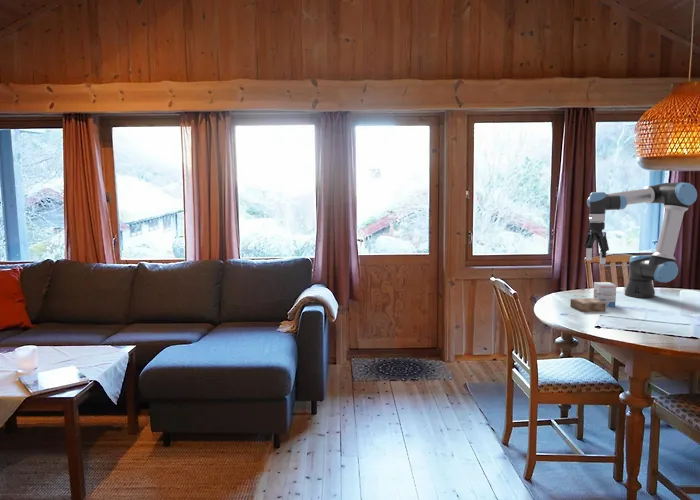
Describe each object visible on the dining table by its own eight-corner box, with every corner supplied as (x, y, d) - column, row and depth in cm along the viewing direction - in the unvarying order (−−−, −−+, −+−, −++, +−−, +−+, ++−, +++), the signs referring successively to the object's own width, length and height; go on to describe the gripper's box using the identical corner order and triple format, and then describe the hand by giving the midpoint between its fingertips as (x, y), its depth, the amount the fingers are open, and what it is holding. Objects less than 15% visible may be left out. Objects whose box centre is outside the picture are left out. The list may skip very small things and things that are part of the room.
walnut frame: (592, 305, 272) (592, 297, 271) (605, 311, 260) (605, 302, 259) (570, 306, 271) (570, 298, 270) (582, 311, 259) (582, 303, 258)
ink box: (609, 303, 277) (610, 281, 276) (615, 306, 269) (616, 284, 267) (592, 303, 278) (593, 281, 277) (598, 306, 270) (599, 284, 268)
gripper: (578, 220, 282) (576, 259, 285) (602, 223, 257) (601, 265, 260) (591, 220, 282) (590, 258, 285) (617, 223, 258) (615, 265, 260)
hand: (595, 262), depth 272 cm, fingers open, 13 cm apart
